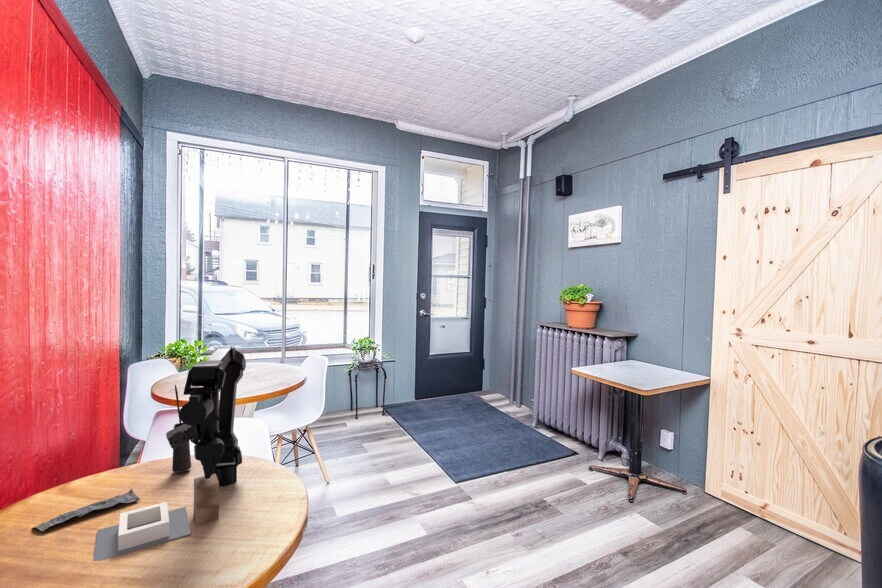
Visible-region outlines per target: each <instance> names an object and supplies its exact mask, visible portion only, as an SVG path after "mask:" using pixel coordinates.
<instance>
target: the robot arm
mask: <svg viewBox="0 0 882 588" xmlns="http://www.w3.org/2000/svg"><path fill="white" fill-rule="evenodd" d="M246 366H247V360H246V358H245V354H243V353H242V352H240V351H238V350H237V349H236V346H233V345H231V346H230V345H229V346H228V345H227V346H226V345H225V346H224V345H223V346H221V345H220V346H217V347H215V350H214V352H213V353H212V354H211V355H210V356H209V357H208V358H207V359H206V360H204V361H199V362H196V363H194V364H193V365H192V366H191V368H189V370H188V372H187V376H186V380H185V385H184V390H183V396H186V395H189V397H188V401H187V402H186V403H185V404H183V406H182V407H181V408H180V412H179V416H180V419H181V423H185V424H183V425H181V426H179V427H177V428H175V429H174V428H173V429H171V430H169V431H167V432H166V434H165V436H166V440H167V442H168V444H169V445H170V448H171V449H173V448H176V447H178V446H179V445H180V444H183V443H185V442H187V441H189V440H190V441H189V442H191V443H192V444H193V445H194V446H193V454H194V458H195V460H197V461H199V462H200V465H201V466H202V471H203V474H204V475H203V476H205V479H209V478H210V477H211V475H212V474H215V473H216V476H217V479H218V481H219V488H220V487H221V488H223V487H228V486H230V485H232V484H234V483H236V482H237V481H238V480H237V479H238V478H237V477H238V475H237V473H238V471H237V470H238V467H239V465H242V464H243V454H242V450H241V448H240V446H239V439H238V438H237V436H236V434H235V433H234V424H235V412H236V399H237V397H236V396H237V386H238V384H239V382H240V381H241V379H242V377H243V376H244V371H245V370H246ZM179 416H178V417H179Z"/></svg>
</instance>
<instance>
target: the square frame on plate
mask: <svg viewBox="0 0 882 588" xmlns="http://www.w3.org/2000/svg"><path fill="white" fill-rule="evenodd" d="M168 508H169V507H168V501H164V502H160V503H156V504H153V505H149V506H144V507H141V508H140V507H139V508H135V509H132V510H129V511H128V510H127V511H125V512H120V514H119V523H118V524H115V525H111V526H108V527H105V528H104V527H103V528H100V529H98V530H97V533H96V539H95V546H94V551H93V558H92V561H93V562H101V561H104V560H108V559H112V558H115V557H118V556H122V555H126V554H128V553H129V554H130V553H133V552H136V551H140V550H144V549H147V548H151V547H155V546H157V545H161V544H165V543H168V542H169V543H170V542H171V541H175V540H179V539H182V538H186V537H189V536H191V535H192V533H191V529H190V528H191V527H190V523H189V517H188V513H187V507H186V506H183V507H179V508H175V509H170V510H169V509H168Z"/></svg>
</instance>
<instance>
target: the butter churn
mask: <svg viewBox="0 0 882 588" xmlns="http://www.w3.org/2000/svg"><path fill="white" fill-rule="evenodd" d="M174 392H175V398H176V405H177V413H178V414H177V415H178V422H177V423H175V424H173V429H175V428H177V427H179V426H181V425H183V424H185V423H183V422H182V421H181V419H180V416H179V412H180V410H181V408H180V401H179V394H178V388H177V385H176V384H174ZM190 442H191V441H190V440H189V441H187V442H185V443H183V444H180V445H179V446H178V447H176V448H172V466H171V470H172V472H173V473H182V472H185V471H188V470H190V469H191V468H192V459H191V447H190V446H191V445H190Z"/></svg>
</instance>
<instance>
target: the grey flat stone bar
mask: <svg viewBox="0 0 882 588" xmlns="http://www.w3.org/2000/svg"><path fill="white" fill-rule="evenodd" d="M139 501H140V497H139V496H137V495H136V493H135V492H134V490H133V488H130V489H129V491H127V492H125V493H123V494H119V495H116V496H114V497H110V498H108V499H105V500H102V501H101V500H100V501H97V502H93V503H91V504H87V505H86V506H82V507H80V508H77V509H75V510H71V511H67V512H66V513H63V514H59V515H57V516H56V517H54V518H52V519H50V520H48V521H46V522H42V523H40V524H39V525H36V526H33V529H34V528H35V529H38V530H39V531H41V532H44V531H46V530H47V529H49V528H50V527H52V526H55V525H58V524H60V523H64V522H65V521H68V520H69V519H71V518H73V517H77V516H78V518H82V517H83V516H84V515H86V514H88V513H90V512H92V511H94V510H100V509H106V508H110V507H113V506H116V505H118V504H119V503H120V504H121V503H123V504H130V503H132V502H133V503H134V502H139Z"/></svg>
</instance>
